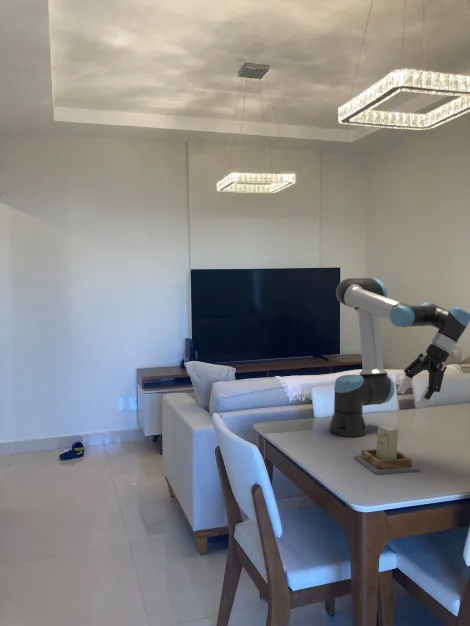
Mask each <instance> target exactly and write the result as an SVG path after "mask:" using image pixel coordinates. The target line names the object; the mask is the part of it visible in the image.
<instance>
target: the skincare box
mask: <svg viewBox="0 0 470 626" xmlns="http://www.w3.org/2000/svg"><path fill="white" fill-rule="evenodd" d="M376 437H377V438H376V448H375V449H376V458H377V459H379V460H394V459H396V458H397V451H398V440H399V439H398V438H399V429H397V428H395V427H393V426H391V425H389V424H384V425H377V436H376Z"/></svg>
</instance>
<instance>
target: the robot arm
mask: <svg viewBox="0 0 470 626" xmlns="http://www.w3.org/2000/svg"><path fill="white" fill-rule="evenodd" d="M387 291H388V290H387V287H386V286H385V284H384V283H383V282H382V280H380V279H377V278H372V277H366V278H365V277H361V278H358V277H357V278H354V277H349V278H345V279H343V280H341V281H340V282H339V283H338V285H337V287H336V289H335V296H336V299H337V300H338V301H339V303H340V304H341V305H344V306H346V307H350V308H354V312H356V313H357V314H358V325H359V326H358V327H359V335H360V336H359V337H360V340H359V341H360V351H361V364H362V370H361V371H360V372H359V373H358V374H345V375H341V376H338V377H337V378H336V379H335V381H334V399H333V400H334V401H333V414H332V418H331V419H330V422H329V427H328V429H329V430H328V431H329V432H330V433H331V434H332V435H336V436H341V437H346V438H347V437H348V438H357V437H363V436H365V435H367V427H366V422H365V420H364V416H363V407H365V406H372V405H374V406H375V405H382V404H386V403H390V401H391V399H392V398H393V397H394V394H395V383H394V381H393V380H392V378H391V377H390V376H388V371H387V370H386V369H385V368H384V361H383V349H382V336H381V324H380V323H381V322H380V317H381V318H384V319H387V320H389V321H390V322H391V323H392V325H393V326H395V327H397V328H398V327H401V328H407V327H408V328H410V327H434V328H436V329H438V330H437V331H436V334H435V335H434V336H433V338H432V340H431V343H430V344H429V345H428V346H427V348H426V350H425V353H426V355H425V354H423V353H419V355H418V356H417V358H415V359H414V361H412V362H411V363H410V364H409V365H408V366H406V368H404V370H403V373H405V375H404V377H403V379H402V381H401V383H400V385H399V386H398V388H397V390H396V391H397V392H398V393H399V394H401V395H404V394H405V392H406V391H407V389H408V387H409V386H410V384H411V383H412V381H413V379H414V377H416V376H417V375H418V374H420V373H421V372H424V371H427V372H428V386H427V387H426V388H424V390H423V393H422V394H421V396H420V397H419V399H418V401H417V403H416V405H417V406H419V407H421V408H423V409H424V408H425V406H426V405H427V403H428V402H429V400H430V399H431V398H432V396H433V394H434V393H440V392H441V388H442V383H443V381H444V380H443V379H444V376H445V372H446V370H447V368H448V366H447V365H445V364H443V363H446V362H447V360H448V358H449V356H450V353H452V351H453V350H454V348H455V346H456V344H457V343H458V341H459V339H460V338H461V336H463V334H464V332H465V330H466V329H467V328H468V325H469V323H470V312H468V311H466V310H465V309H463V308H460V307H459V306H456V305H455V306H452V307H451V308H450V309H449V310H448V309H446V308H443V307H441V306H439V305H437V304H434V303H431V302H428V301H425V302H423V303H422V304H420V305H409V304H406V303H403V302H401V301H398V300H396V299H392V298H389V297H388V292H387Z"/></svg>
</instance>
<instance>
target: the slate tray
mask: <svg viewBox="0 0 470 626" xmlns="http://www.w3.org/2000/svg"><path fill="white" fill-rule="evenodd" d="M353 459H354V460H356V461H357V462H358V463H360V464H361V465H362V466H364V467H365V468H367V470H369V471H370V472H372V473H373V474H375V475H387V474H389V475H391V474H400V473H414V472H420V467H418V466H416V465H415V464H414V463H412V467H403V468H389V469H377V468H376V467H375V466H373V465H372V464H370V463H369V462H368V461H366V460H365V459H363V458H362V457H361V454H358V455H354V458H353Z"/></svg>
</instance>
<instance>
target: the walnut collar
mask: <svg viewBox="0 0 470 626" xmlns="http://www.w3.org/2000/svg"><path fill="white" fill-rule="evenodd" d="M376 449H377V448H373V449H362V450H361V451H360V453H361V454H360V455H361V457H362V458H363V459H365V460H366V461H368V462H369V463H370V464H372V465H373V466H375V467H376V468H377V469H389V468H403V467H412V464H413V459H412V458H410V457H408V456H407V455H406V454H404V453H402V452H401V451H399V450H397V458H396V459H394V460H379V459H377V458H376Z"/></svg>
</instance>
